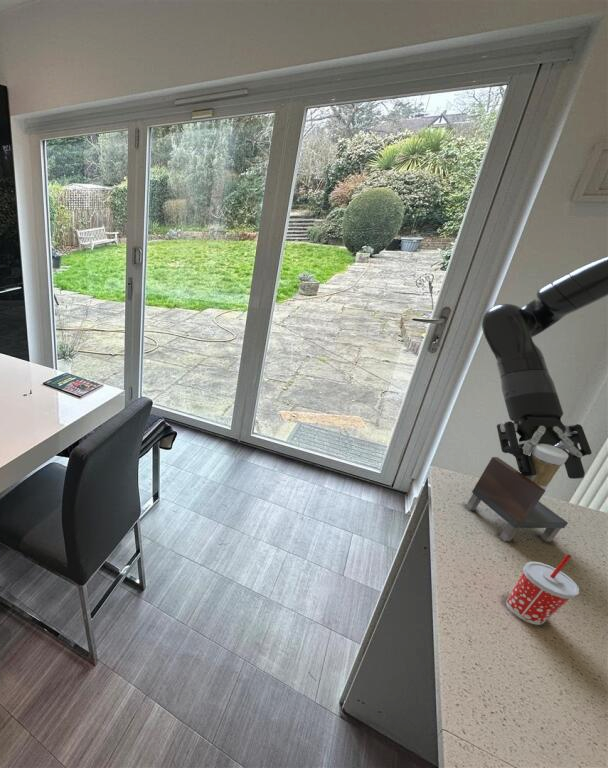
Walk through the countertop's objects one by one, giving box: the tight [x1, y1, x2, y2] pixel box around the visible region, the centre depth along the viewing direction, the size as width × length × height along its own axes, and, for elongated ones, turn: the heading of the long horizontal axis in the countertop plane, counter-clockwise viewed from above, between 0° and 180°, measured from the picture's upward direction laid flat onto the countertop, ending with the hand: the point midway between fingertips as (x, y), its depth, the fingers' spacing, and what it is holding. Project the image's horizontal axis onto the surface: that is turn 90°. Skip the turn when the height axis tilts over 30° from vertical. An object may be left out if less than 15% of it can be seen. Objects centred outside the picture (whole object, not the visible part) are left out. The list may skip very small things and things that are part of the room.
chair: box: [465, 456, 569, 542], centre depth 83 cm, size 10×10×14 cm
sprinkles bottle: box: [521, 444, 568, 490], centre depth 80 cm, size 5×5×13 cm
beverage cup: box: [505, 554, 580, 626], centre depth 65 cm, size 6×6×14 cm
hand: (553, 477), depth 78 cm, fingers open, 8 cm apart
